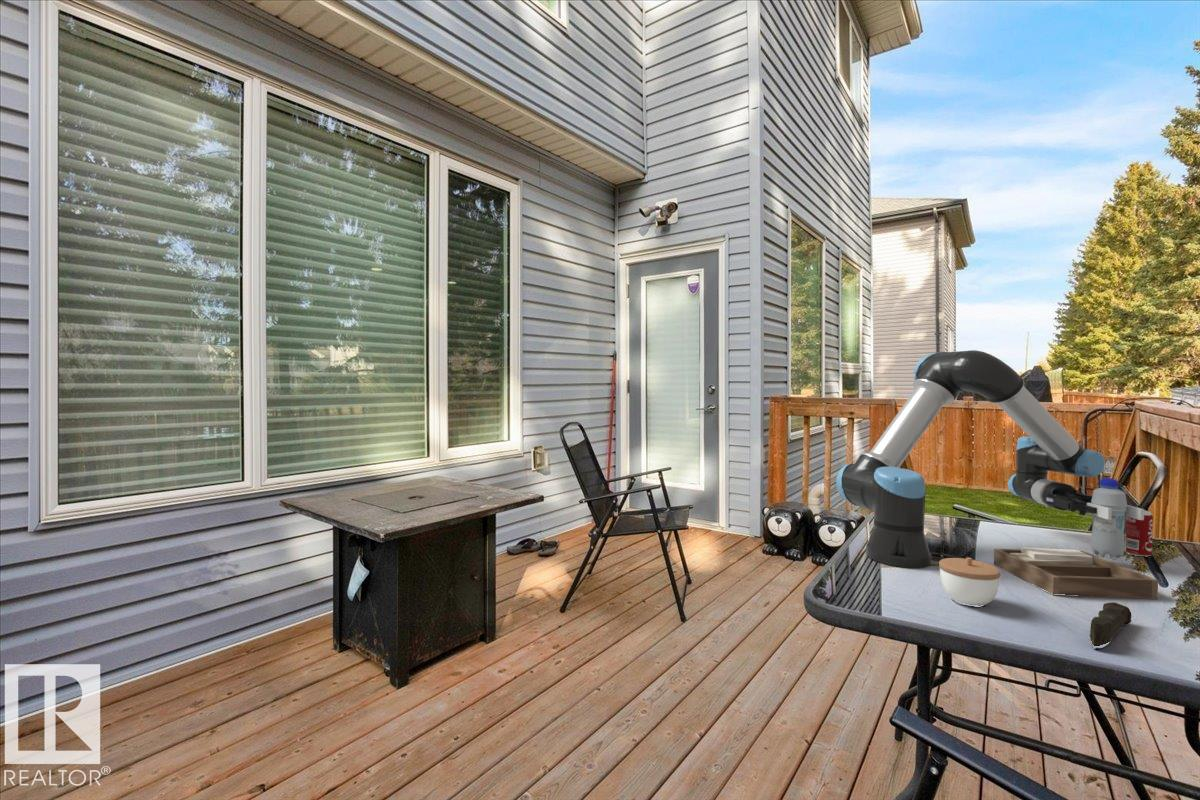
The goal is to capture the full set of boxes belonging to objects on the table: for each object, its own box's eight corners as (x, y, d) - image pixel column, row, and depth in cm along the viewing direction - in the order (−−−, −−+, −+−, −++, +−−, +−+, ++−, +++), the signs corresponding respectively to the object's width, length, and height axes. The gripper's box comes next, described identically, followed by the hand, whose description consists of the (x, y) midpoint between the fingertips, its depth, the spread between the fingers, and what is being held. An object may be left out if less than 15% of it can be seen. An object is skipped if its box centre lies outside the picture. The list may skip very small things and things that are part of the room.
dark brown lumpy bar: (1103, 618, 107) (1104, 595, 107) (1131, 626, 104) (1132, 602, 104) (1073, 646, 96) (1074, 620, 96) (1103, 655, 93) (1104, 628, 93)
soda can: (1139, 552, 148) (1141, 508, 148) (1157, 558, 143) (1159, 513, 143) (1119, 551, 149) (1120, 508, 149) (1136, 557, 144) (1137, 512, 143)
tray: (993, 564, 138) (994, 548, 138) (1082, 566, 137) (1082, 551, 136) (1052, 595, 118) (1053, 577, 118) (1157, 598, 117) (1158, 580, 116)
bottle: (1084, 554, 140) (1086, 477, 139) (1097, 550, 142) (1099, 475, 142) (1117, 561, 133) (1120, 481, 133) (1130, 558, 136) (1133, 479, 136)
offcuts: (1006, 562, 137) (1007, 546, 137) (1079, 564, 135) (1079, 548, 135) (1026, 572, 130) (1026, 555, 130) (1102, 574, 128) (1103, 557, 128)
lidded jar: (998, 599, 116) (999, 556, 116) (1000, 617, 107) (1001, 570, 107) (939, 588, 122) (940, 547, 122) (937, 604, 113) (938, 560, 113)
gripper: (1091, 508, 155) (1168, 530, 132) (1018, 507, 156) (1082, 528, 133) (1091, 482, 154) (1169, 499, 132) (1019, 481, 156) (1083, 498, 133)
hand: (1125, 514), depth 133 cm, fingers closed on bottle, 7 cm apart
